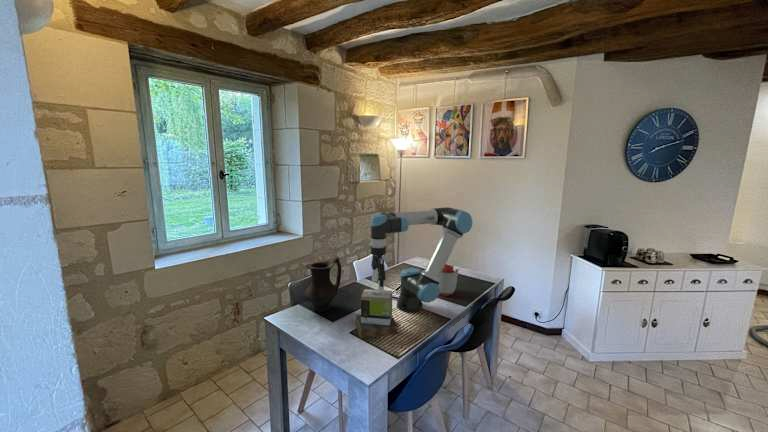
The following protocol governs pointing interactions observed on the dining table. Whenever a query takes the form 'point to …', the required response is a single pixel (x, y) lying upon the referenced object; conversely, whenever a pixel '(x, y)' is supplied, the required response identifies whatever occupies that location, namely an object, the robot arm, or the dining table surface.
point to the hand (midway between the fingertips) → (377, 286)
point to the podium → (375, 328)
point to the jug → (322, 284)
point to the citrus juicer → (448, 280)
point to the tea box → (376, 307)
